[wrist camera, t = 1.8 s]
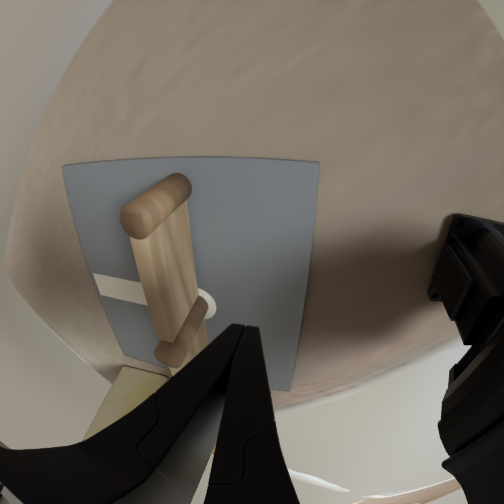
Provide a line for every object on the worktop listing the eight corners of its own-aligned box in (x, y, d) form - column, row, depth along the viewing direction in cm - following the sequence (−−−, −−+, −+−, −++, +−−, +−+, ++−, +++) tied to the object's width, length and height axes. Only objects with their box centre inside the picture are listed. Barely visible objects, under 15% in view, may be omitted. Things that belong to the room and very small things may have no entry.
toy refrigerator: (192, 409, 33) (140, 542, 16) (145, 397, 35) (89, 516, 18) (174, 377, 29) (104, 536, 12) (123, 364, 31) (49, 500, 14)
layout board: (319, 161, 15) (319, 163, 14) (289, 388, 26) (289, 392, 26) (65, 164, 18) (60, 166, 18) (126, 353, 29) (124, 356, 29)
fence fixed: (207, 295, 21) (178, 352, 16) (219, 379, 27) (203, 425, 22) (182, 291, 21) (150, 345, 17) (201, 375, 27) (183, 420, 22)
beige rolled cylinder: (190, 172, 16) (148, 204, 12) (203, 295, 20) (178, 344, 16) (163, 172, 16) (116, 203, 12) (181, 291, 21) (153, 338, 17)
